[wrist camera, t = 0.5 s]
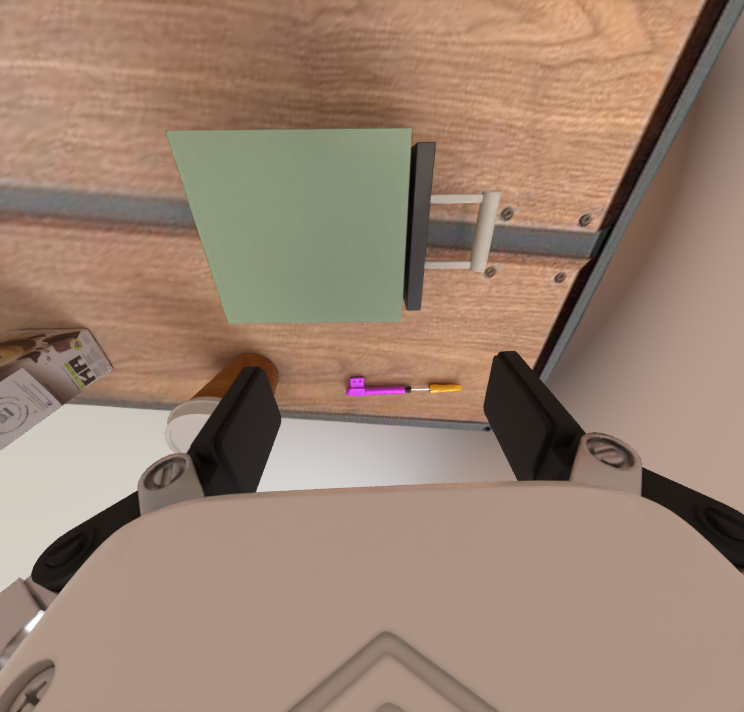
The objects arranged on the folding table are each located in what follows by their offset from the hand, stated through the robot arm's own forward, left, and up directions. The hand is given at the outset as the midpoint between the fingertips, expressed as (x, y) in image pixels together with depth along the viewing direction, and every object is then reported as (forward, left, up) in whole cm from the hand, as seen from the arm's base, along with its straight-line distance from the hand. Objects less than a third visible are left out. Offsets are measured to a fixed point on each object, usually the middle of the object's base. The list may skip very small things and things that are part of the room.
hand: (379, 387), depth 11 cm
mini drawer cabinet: (-4, -5, -21) cm, 22 cm away
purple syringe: (+16, +4, -21) cm, 27 cm away
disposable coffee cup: (+14, -16, -21) cm, 30 cm away
